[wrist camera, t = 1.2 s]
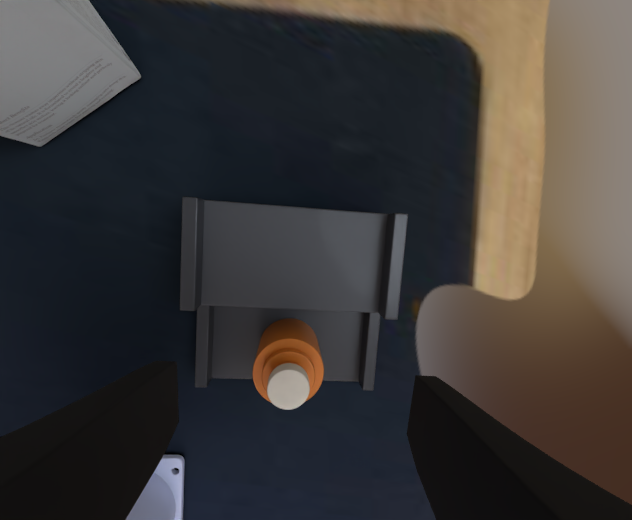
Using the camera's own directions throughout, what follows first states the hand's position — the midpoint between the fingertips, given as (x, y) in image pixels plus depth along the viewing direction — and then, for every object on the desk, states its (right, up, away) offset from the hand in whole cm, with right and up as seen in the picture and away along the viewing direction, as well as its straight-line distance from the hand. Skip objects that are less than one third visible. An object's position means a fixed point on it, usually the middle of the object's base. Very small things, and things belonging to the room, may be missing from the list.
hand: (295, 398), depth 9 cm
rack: (-1, +2, +12) cm, 12 cm away
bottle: (-1, -2, +12) cm, 12 cm away
